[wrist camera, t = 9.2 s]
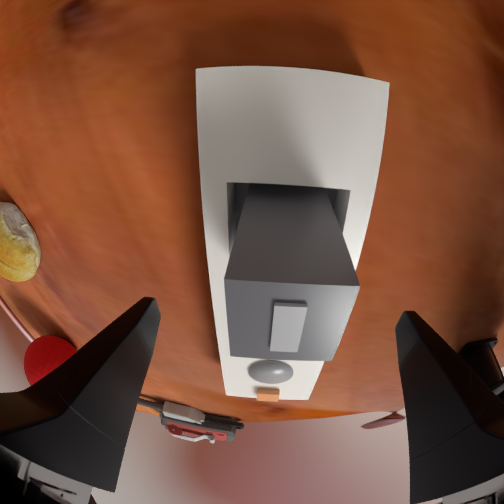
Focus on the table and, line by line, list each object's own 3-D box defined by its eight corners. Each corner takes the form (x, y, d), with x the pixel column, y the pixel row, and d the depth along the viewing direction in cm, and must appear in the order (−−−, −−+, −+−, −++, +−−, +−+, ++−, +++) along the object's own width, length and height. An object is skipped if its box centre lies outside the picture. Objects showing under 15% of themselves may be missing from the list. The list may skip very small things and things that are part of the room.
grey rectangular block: (323, 186, 14) (361, 289, 7) (315, 248, 16) (331, 363, 10) (249, 182, 14) (222, 282, 8) (249, 244, 17) (229, 359, 10)
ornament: (63, 356, 32) (38, 406, 24) (32, 316, 27) (-1, 370, 19) (104, 369, 31) (80, 428, 23) (73, 326, 26) (37, 394, 18)
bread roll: (-9, 230, 19) (-30, 250, 16) (6, 183, 16) (-23, 204, 13) (31, 282, 23) (12, 305, 20) (54, 248, 20) (28, 275, 16)
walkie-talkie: (246, 413, 34) (118, 384, 34) (243, 440, 31) (109, 407, 31) (240, 429, 39) (130, 404, 39) (238, 451, 36) (124, 425, 36)
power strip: (367, 82, 11) (395, 83, 8) (307, 374, 26) (308, 404, 23) (212, 71, 11) (191, 67, 8) (230, 370, 26) (225, 400, 23)
